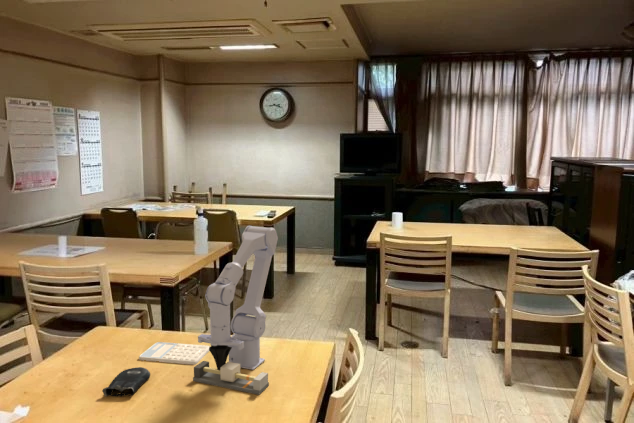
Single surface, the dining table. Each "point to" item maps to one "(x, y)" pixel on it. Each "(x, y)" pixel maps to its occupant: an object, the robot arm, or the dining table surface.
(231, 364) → the beige sliding bead
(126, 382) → the electronic device
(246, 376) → the cord board
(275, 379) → the dining table surface
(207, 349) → the calculator
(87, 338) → the dining table surface
